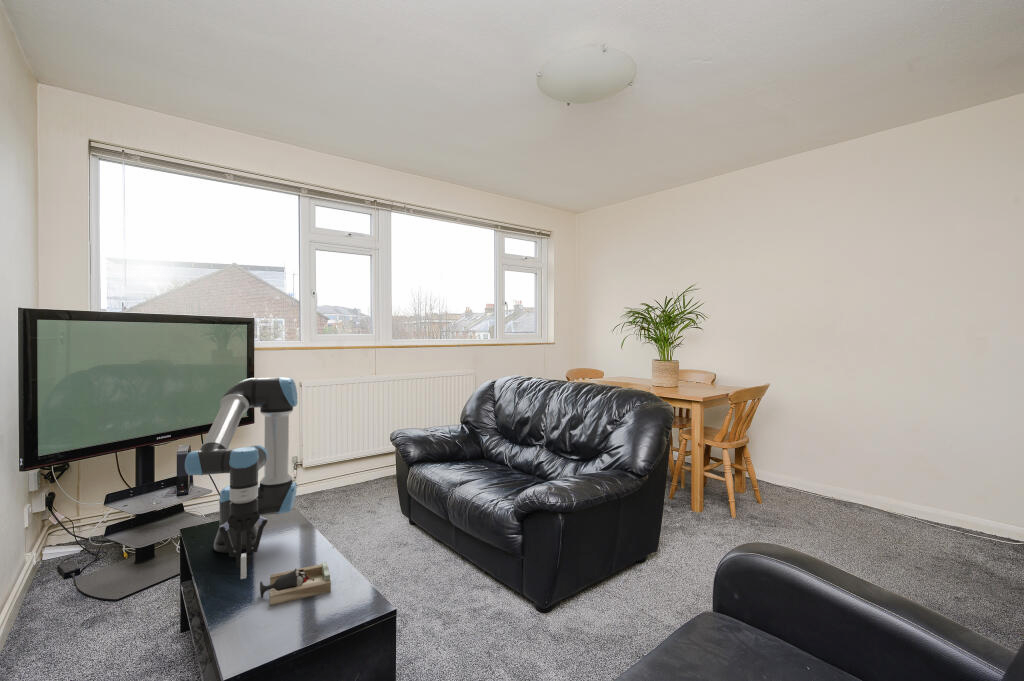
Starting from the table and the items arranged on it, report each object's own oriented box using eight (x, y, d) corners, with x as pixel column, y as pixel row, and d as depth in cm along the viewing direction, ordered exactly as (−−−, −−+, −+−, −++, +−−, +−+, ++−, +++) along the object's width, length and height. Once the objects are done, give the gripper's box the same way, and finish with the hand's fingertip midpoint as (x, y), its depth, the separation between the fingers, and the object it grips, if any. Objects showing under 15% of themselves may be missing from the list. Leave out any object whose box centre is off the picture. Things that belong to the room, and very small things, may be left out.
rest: (270, 584, 148) (270, 570, 148) (326, 571, 156) (326, 559, 156) (270, 606, 136) (270, 591, 136) (330, 591, 144) (330, 577, 144)
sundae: (260, 603, 137) (314, 586, 143) (258, 579, 139) (312, 563, 145) (263, 600, 142) (315, 584, 148) (261, 577, 144) (312, 562, 150)
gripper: (217, 507, 133) (217, 587, 132) (268, 499, 139) (268, 576, 139) (219, 499, 139) (219, 576, 139) (268, 492, 145) (267, 566, 145)
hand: (243, 576), depth 139 cm, fingers closed
